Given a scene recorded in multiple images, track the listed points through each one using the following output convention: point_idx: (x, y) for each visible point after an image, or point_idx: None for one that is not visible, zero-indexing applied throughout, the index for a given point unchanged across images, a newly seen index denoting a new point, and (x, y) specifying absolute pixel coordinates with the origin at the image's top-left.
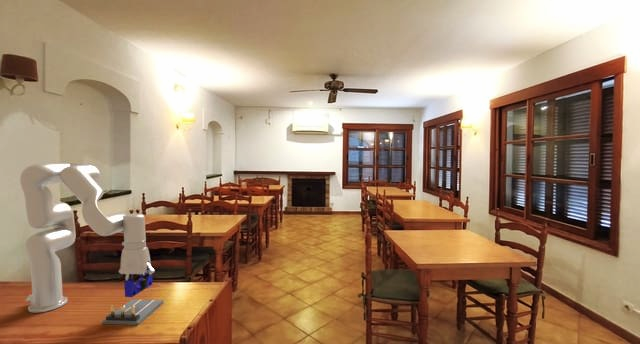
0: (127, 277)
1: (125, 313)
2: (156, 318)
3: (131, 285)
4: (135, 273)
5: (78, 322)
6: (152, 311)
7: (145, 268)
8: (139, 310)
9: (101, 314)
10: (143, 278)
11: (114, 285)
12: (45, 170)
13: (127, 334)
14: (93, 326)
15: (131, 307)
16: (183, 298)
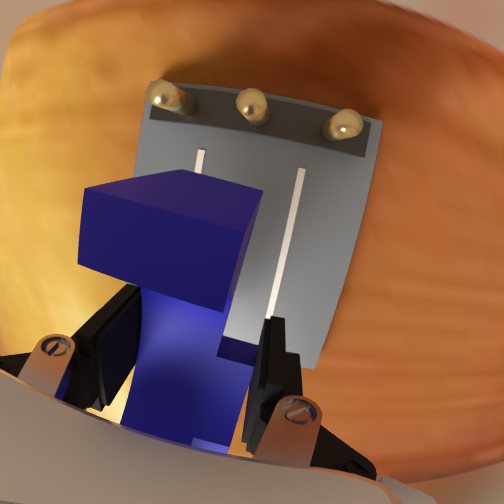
0: (284, 428)
1: (278, 192)
2: (94, 151)
3: (118, 183)
4: (45, 405)
5: (492, 173)
6: None
7: None
8: None
9: (427, 241)
10: (49, 356)
11: (421, 470)
12: None
13: (178, 5)
14: (410, 104)
15: (164, 80)
16: None
